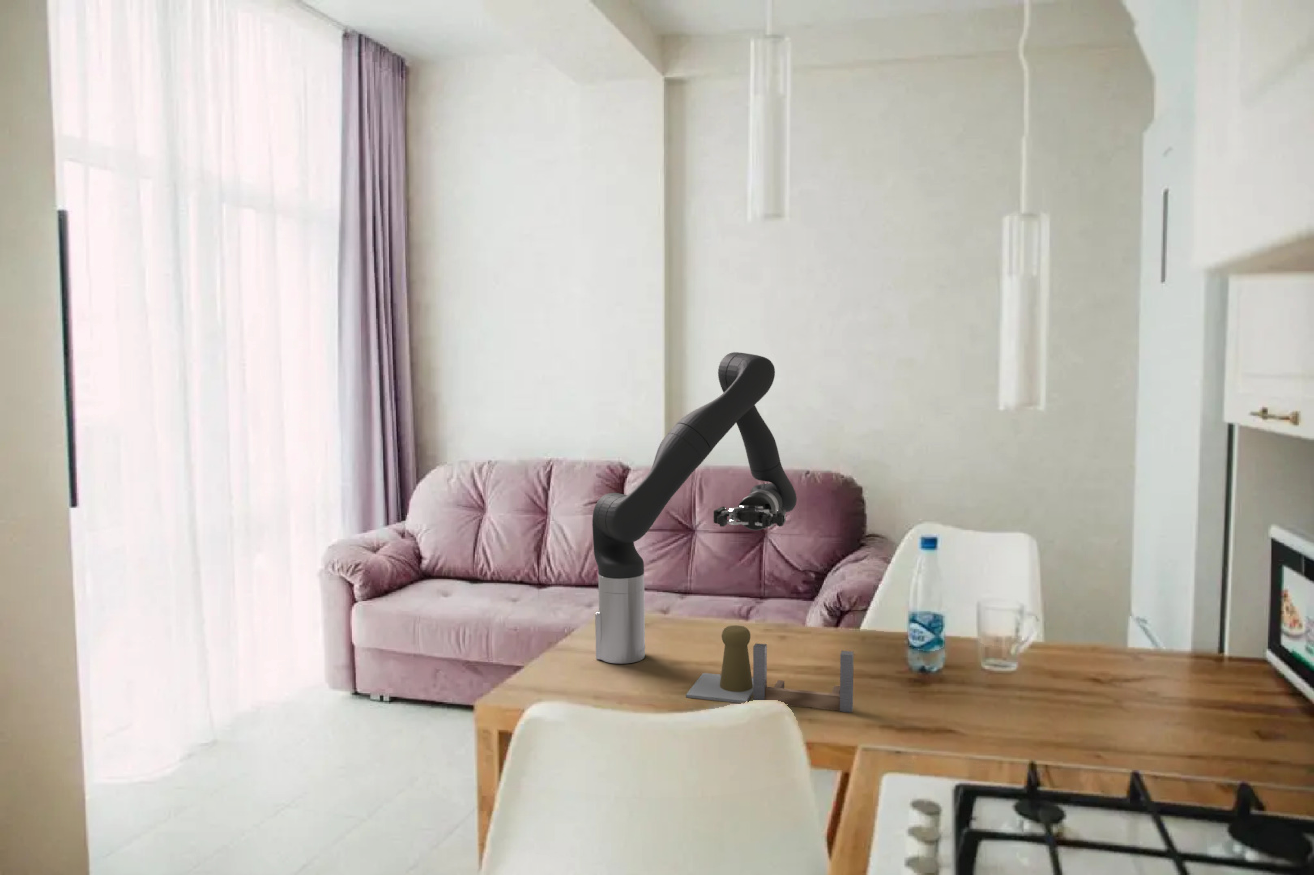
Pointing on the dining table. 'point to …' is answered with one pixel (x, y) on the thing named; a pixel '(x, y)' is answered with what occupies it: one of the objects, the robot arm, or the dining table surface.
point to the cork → (736, 660)
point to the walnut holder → (822, 700)
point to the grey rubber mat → (716, 690)
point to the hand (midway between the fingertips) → (742, 522)
